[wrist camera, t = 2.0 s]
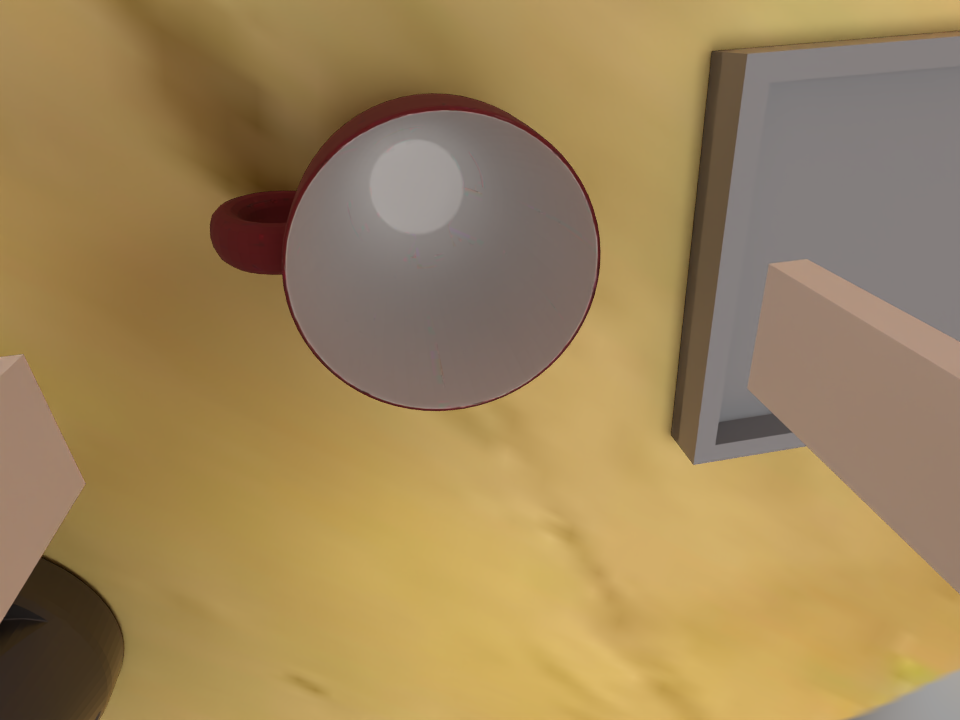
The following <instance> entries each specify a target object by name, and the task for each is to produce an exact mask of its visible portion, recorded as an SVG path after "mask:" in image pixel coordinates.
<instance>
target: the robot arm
mask: <svg viewBox="0 0 960 720" xmlns="http://www.w3.org/2000/svg"><path fill="white" fill-rule="evenodd" d="M747 389H748V390H749V391H750V392H751V393H752V394H753V395H754V396H755V397H756V398H757V399H759V400H760V401H761V402H762V403H763V404H764V405H765V406H766V407H767V408H768V409H769V410H770V411H771V412H772V413H773V414H774V415H775V416H776V417H777V418H778V419H779V420H780V421H781V422H782V423H783V424H784V425H785V426H786V427H787V428H788V429H790V430H791V431H792V432H793V433H794V434H795V435H796V436H797V437H798V438H799V439H800V440H801V441H802V442H803V443H804V444H805V445H806V446H807V447H808V448H809V449H810V450H811V451H812V452H813V453H814V454H815V455H816V456H817V457H818V458H819V459H821V460H822V461H823V462H824V463H825V464H826V465H827V466H828V467H829V468H830V469H831V470H832V471H833V472H834V473H835V474H836V475H837V476H838V477H839V478H840V479H841V480H842V481H843V482H844V483H845V484H846V485H847V486H848V487H849V488H850V489H852V490H853V491H854V492H855V493H856V494H857V495H858V496H859V497H860V498H861V499H862V500H863V501H864V502H865V503H866V504H867V505H868V506H869V507H870V508H871V509H872V510H873V511H874V512H875V513H876V514H877V515H878V516H879V517H880V518H881V519H883V520H884V521H885V522H886V523H887V524H888V525H889V526H890V527H891V528H892V529H893V530H894V531H895V532H896V533H897V534H898V535H899V536H900V537H901V538H902V539H903V540H904V541H905V542H906V543H907V544H908V545H909V546H910V547H911V548H912V549H914V550H915V551H916V552H917V553H918V554H919V555H920V556H921V557H922V558H923V559H924V560H925V561H926V562H927V563H928V564H929V565H930V566H931V567H932V568H933V569H934V570H935V571H936V572H937V573H938V574H939V575H940V576H941V577H942V578H943V579H945V580H946V581H947V582H948V583H949V584H950V585H951V586H952V587H953V588H954V589H955V590H956V591H957V592H958V593H959V594H960V342H959V341H957V340H955V339H954V338H952V337H950V336H948V335H946V334H944V333H943V332H941V331H939V330H937V329H935V328H933V327H931V326H930V325H928V324H926V323H924V322H922V321H920V320H919V319H917V318H915V317H913V316H911V315H909V314H907V313H906V312H904V311H902V310H900V309H898V308H896V307H894V306H893V305H891V304H889V303H887V302H885V301H883V300H882V299H880V298H878V297H876V296H874V295H872V294H870V293H869V292H867V291H865V290H863V289H861V288H859V287H858V286H856V285H854V284H852V283H850V282H848V281H846V280H845V279H843V278H841V277H839V276H837V275H835V274H834V273H832V272H830V271H828V270H826V269H824V268H822V267H821V266H819V265H817V264H815V263H813V262H811V261H809V260H808V259H804V260H795V261H787V262H779V263H771V264H769V266H768V272H767V278H766V283H765V289H764V295H763V301H762V306H761V312H760V318H759V324H758V329H757V335H756V341H755V347H754V352H753V358H752V364H751V370H750V375H749V381H748V387H747ZM85 484H86V483H85V481H84V479H83V477H82V475H81V473H80V471H79V469H78V467H77V465H76V463H75V461H74V458H73V456H72V454H71V452H70V450H69V448H68V446H67V444H66V442H65V440H64V438H63V436H62V433H61V431H60V429H59V427H58V425H57V423H56V421H55V419H54V417H53V415H52V413H51V411H50V409H49V406H48V404H47V402H46V400H45V398H44V396H43V394H42V392H41V390H40V388H39V386H38V384H37V381H36V379H35V377H34V375H33V373H32V371H31V369H30V367H29V365H28V363H27V361H26V359H25V357H24V354H21V355H13V356H4V357H0V720H100V718H101V716H102V714H103V712H104V711H105V709H106V707H107V704H108V702H109V699H110V697H111V694H112V691H113V689H114V686H115V683H116V681H117V678H118V675H119V673H120V670H121V666H122V662H123V656H124V646H123V639H122V634H121V631H120V628H119V626H118V623H117V621H116V619H115V618H114V616H113V614H112V612H111V611H110V610H109V608H108V607H107V605H106V604H105V603H104V602H103V601H102V600H101V598H100V597H99V596H98V595H97V594H96V593H95V592H94V591H93V590H91V589H90V588H89V587H88V586H87V585H86V584H84V583H83V582H82V581H80V580H79V579H78V578H76V577H75V576H73V575H72V574H70V573H69V572H67V571H66V570H64V569H62V568H60V567H59V566H57V565H55V564H53V563H51V562H49V561H47V560H45V559H43V558H41V556H42V554H43V553H44V551H45V549H46V548H47V546H48V545H49V543H50V541H51V540H52V538H53V536H54V535H55V533H56V531H57V530H58V528H59V527H60V525H61V523H62V522H63V520H64V518H65V517H66V515H67V513H68V512H69V510H70V509H71V507H72V505H73V504H74V502H75V500H76V499H77V497H78V495H79V494H80V492H81V491H82V489H83V487H84V486H85Z"/></svg>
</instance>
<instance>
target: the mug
mask: <svg viewBox="0 0 960 720" xmlns="http://www.w3.org/2000/svg"><path fill="white" fill-rule="evenodd" d="M210 236H211V240H212V244H213V247H214V249H215V250H216V252H217V253H218V255H219V256H220V257H221V259H222V260H223V261H225V262H226V263H228V264H229V265H231V266H233V267H235V268H237V269H239V270H242V271H246V272H250V273H256V274H269V275H280V274H282V276H283V286H284V291H285V295H286V300H287V304H288V307H289V310H290V313H291V316H292V318H293V320H294V322H295V325H296V327H297V329H298V331H299V333H300V334H301V336H302V338H303V339H304V341H305V343H306V344H307V346H308V347H309V348H310V350H311V351H312V352H313V354H314V355H315V356H316V357H317V358H318V359H319V361H320V362H321V363H322V364H323V365H324V366H325V367H326V368H327V369H328V370H329V371H330V372H332V373H333V374H334V375H335V376H336V377H338V378H339V379H340V380H342V381H343V382H344V383H346V384H347V385H349V386H350V387H352V388H354V389H355V390H357V391H359V392H361V393H363V394H365V395H367V396H369V397H371V398H373V399H376V400H379V401H381V402H384V403H387V404H391V405H394V406H398V407H403V408H408V409H415V410H423V411H447V410H457V409H464V408H469V407H474V406H478V405H482V404H485V403H488V402H491V401H494V400H496V399H499V398H501V397H504V396H506V395H508V394H510V393H512V392H514V391H516V390H518V389H520V388H521V387H523V386H525V385H526V384H528V383H529V382H531V381H532V380H534V379H535V378H536V377H538V376H539V375H540V374H542V373H543V372H544V371H545V370H546V369H547V368H549V367H550V366H551V365H552V364H553V363H554V362H555V361H556V360H557V359H558V358H559V357H560V356H561V354H562V353H563V352H564V351H565V350H566V348H567V347H568V346H569V345H570V343H571V342H572V340H573V339H574V337H575V336H576V334H577V333H578V331H579V329H580V328H581V326H582V324H583V322H584V320H585V318H586V316H587V314H588V311H589V309H590V306H591V304H592V301H593V298H594V295H595V291H596V287H597V282H598V276H599V269H600V237H599V231H598V224H597V220H596V217H595V213H594V209H593V206H592V204H591V201H590V199H589V196H588V194H587V192H586V190H585V188H584V186H583V184H582V182H581V180H580V179H579V177H578V176H577V174H576V173H575V171H574V169H573V168H572V167H571V165H570V164H569V163H568V162H567V160H566V159H565V158H564V157H563V155H562V154H561V153H560V152H559V151H558V150H557V149H556V148H555V147H554V146H553V145H552V144H550V143H549V142H548V141H547V140H546V139H544V138H543V137H542V136H541V135H539V134H538V133H537V132H536V131H534V130H533V129H532V128H530V127H529V126H528V125H526V124H524V123H523V122H521V121H520V120H518V119H517V118H515V117H514V116H512V115H510V114H509V113H507V112H505V111H503V110H501V109H499V108H497V107H495V106H492V105H490V104H487V103H484V102H482V101H478V100H475V99H471V98H467V97H463V96H457V95H450V94H433V93H431V94H416V95H411V96H405V97H400V98H397V99H393V100H390V101H386V102H384V103H381V104H379V105H377V106H374V107H372V108H370V109H368V110H366V111H364V112H362V113H361V114H359V115H357V116H356V117H354V118H353V119H351V120H350V121H349V122H347V123H346V124H344V125H343V126H342V127H341V128H340V129H339V130H337V131H336V132H335V133H334V134H333V135H332V136H331V137H330V138H329V139H328V140H327V142H326V143H325V144H324V145H323V146H322V147H321V149H320V150H319V151H318V153H317V154H316V155H315V157H314V158H313V159H312V161H311V163H310V164H309V166H308V168H307V169H306V171H305V173H304V175H303V177H302V179H301V181H300V184H299V186H298V188H297V191H268V192H259V193H253V194H249V195H244V196H240V197H237V198H234V199H231V200H229V201H227V202H225V203H223V204H222V205H220V206H219V207H218V209H217V210H216V211H215V212H214V213H213V215H212V218H211V223H210Z"/></svg>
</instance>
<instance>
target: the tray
mask: <svg viewBox="0 0 960 720" xmlns="http://www.w3.org/2000/svg"><path fill="white" fill-rule="evenodd" d="M804 259H808V260H809V261H811V262H813V263H815V264H817V265H819V266H821V267H822V268H824V269H826V270H828V271H830V272H832V273H834V274H835V275H837V276H839V277H841V278H843V279H845V280H846V281H848V282H850V283H852V284H854V285H856V286H858V287H859V288H861V289H863V290H865V291H867V292H869V293H870V294H872V295H874V296H876V297H878V298H880V299H882V300H883V301H885V302H887V303H889V304H891V305H893V306H894V307H896V308H898V309H900V310H902V311H904V312H906V313H907V314H909V315H911V316H913V317H915V318H917V319H919V320H920V321H922V322H924V323H926V324H928V325H930V326H931V327H933V328H935V329H937V330H939V331H941V332H943V333H944V334H946V335H948V336H950V337H952V338H954V339H955V340H957V341H959V342H960V31H951V32H939V33H926V34H914V35H902V36H890V37H878V38H866V39H853V40H841V41H829V42H817V43H805V44H793V45H781V46H768V47H756V48H744V49H732V50H720V51H712V56H711V66H710V75H709V85H708V94H707V103H706V113H705V122H704V132H703V141H702V150H701V160H700V169H699V178H698V188H697V197H696V207H695V216H694V225H693V235H692V244H691V254H690V263H689V272H688V282H687V291H686V300H685V310H684V319H683V329H682V338H681V347H680V357H679V366H678V376H677V385H676V394H675V404H674V413H673V422H672V432H671V436H672V437H673V438H674V440H675V441H676V442H677V444H678V445H679V446H680V448H681V449H682V450H683V452H684V453H685V454H686V456H687V457H688V458H689V460H690V461H691V462H692V464H693V465H695V464H701V463H707V462H714V461H720V460H726V459H732V458H738V457H744V456H750V455H756V454H762V453H768V452H774V451H780V450H786V449H792V448H798V447H805V446H806V445H805V444H804V443H803V442H802V441H801V440H800V439H799V438H798V437H797V436H796V435H795V434H794V433H793V432H792V431H791V430H790V429H788V428H787V427H786V426H785V425H784V424H783V423H782V422H781V421H780V420H779V419H778V418H777V417H776V416H775V415H774V414H773V413H772V412H771V411H770V410H769V409H768V408H767V407H766V406H765V405H764V404H763V403H762V402H761V401H760V400H759V399H757V398H756V397H755V396H754V395H753V394H752V393H751V392H750V391H749V390H748V389H747V387H748V381H749V375H750V370H751V364H752V358H753V352H754V347H755V341H756V335H757V329H758V324H759V318H760V312H761V306H762V301H763V295H764V289H765V283H766V278H767V272H768V266H769V264H771V263H779V262H787V261H795V260H804Z"/></svg>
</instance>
